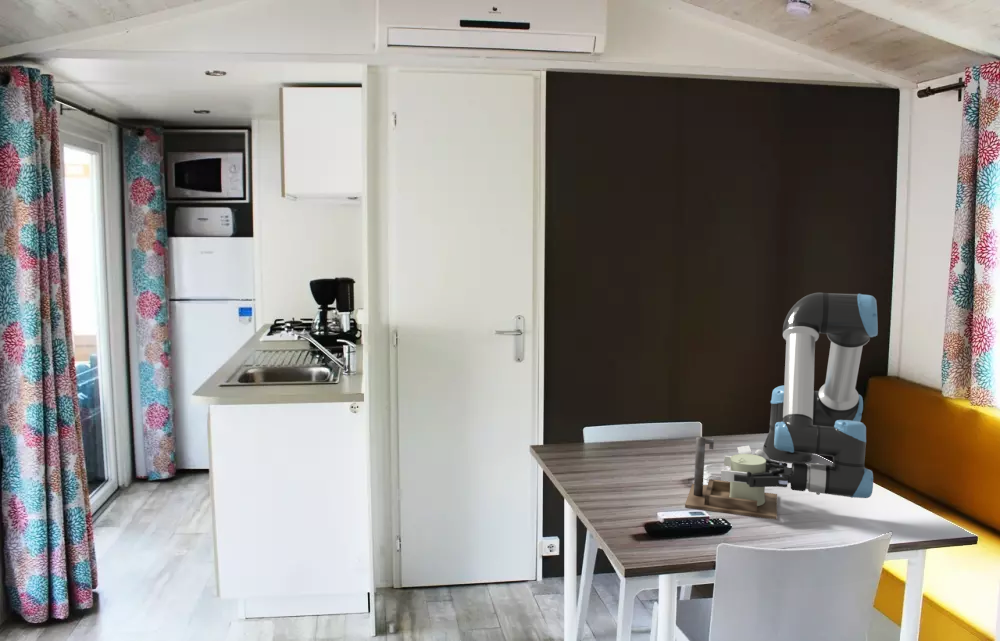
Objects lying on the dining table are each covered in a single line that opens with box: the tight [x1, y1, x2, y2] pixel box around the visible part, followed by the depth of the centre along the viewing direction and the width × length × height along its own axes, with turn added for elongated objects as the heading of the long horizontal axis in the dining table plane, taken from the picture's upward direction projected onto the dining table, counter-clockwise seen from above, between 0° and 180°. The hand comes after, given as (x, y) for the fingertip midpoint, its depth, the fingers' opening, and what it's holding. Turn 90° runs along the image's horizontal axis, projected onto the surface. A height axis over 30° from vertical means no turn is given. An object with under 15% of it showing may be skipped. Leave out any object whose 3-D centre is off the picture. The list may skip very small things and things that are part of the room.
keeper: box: [684, 436, 778, 520], centre depth 209 cm, size 23×18×17 cm
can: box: [729, 453, 766, 506], centre depth 208 cm, size 9×9×12 cm
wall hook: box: [736, 445, 771, 460], centre depth 231 cm, size 8×10×10 cm
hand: (722, 467), depth 210 cm, fingers open, 13 cm apart
